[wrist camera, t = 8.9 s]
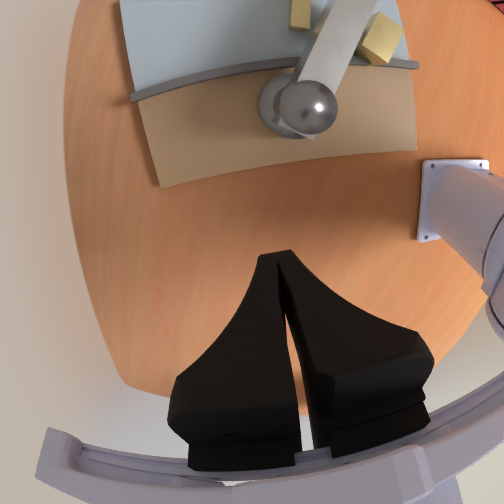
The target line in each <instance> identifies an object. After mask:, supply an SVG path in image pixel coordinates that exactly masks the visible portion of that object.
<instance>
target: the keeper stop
mask: <svg viewBox="0 0 504 504" xmlns="http://www.w3.org/2000/svg"><path fill="white" fill-rule="evenodd" d="M403 32H404V29H403V28H402V27H401V26H399V25H398V24H397V23H395V22H394V21H393V20H391V19H390V18H389V17H387V16H386V15H384V14H383V13H382V12H380V11H379V12H377V13H375V14H373V15H371V16H370V18H369V20H368V22H367V24H366V27H365V29H364V31H363V33H362V36H361V38H360V40H359V42H358V44H357V47H356V49H355V51H354V53H353V55H352V56H361V57H362V58H364V59H365V60H367V61H368V62H369V63H371V64H372V65H367V66H366V67H369V66H375V65H381V64H387V63H389V61H390V59H391V57H392V55H393V53H394V51H395V49H396V47H397V45H398V43H399V41H400V39H401V37H402V34H403Z"/></svg>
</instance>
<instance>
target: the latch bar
mask: <svg viewBox="0 0 504 504" xmlns="http://www.w3.org/2000/svg"><path fill="white" fill-rule="evenodd" d="M376 2H377V0H328V1H327V3H326V5H325V7H324V9H323V11H322V13H321V15H320V17H319V19H318V21H317V23H316V25H315V27H314V29H313V31H312V33H311V35H310V37H309V40H308V42H307V44H306V46H305V48H304V50H303V52H302V54H301V56H300V58H299V60H298V63H297V65H296V67H295V69H294V71H293V73H292V76H291V78H290V80H289V82H288V84H287V86H285V87H283V88H281V89H280V90H279V91H278V92H277V93H276V95H275V97H274V99H273V111H274V115H273V118H272V120H271V121H272V122H274V123H276V124H277V125H280V126H282V127H284V128H287V129H289V130H291V131H294V132H296V133H298V134H300V135H303V136H305V137H307V138H309V139H311V140H314V138H315V136H316V134H319V133H322V132H324V131H326V130H327V129H328V128H330V127H331V126H332V124H333V123H334V121H335V120H336V117H337V113H338V105H337V100H336V98H335V96H334V95H335V92H336V90H337V88H338V86H339V84H340V82H341V79H342V77H343V75H344V73H345V71H346V69H347V66H348V64H349V62H350V60H351V58H352V55H353V53H354V51H355V49H356V47H357V44H358V42H359V40H360V38H361V36H362V33H363V31H364V29H365V27H366V24H367V22H368V20H369V18H370V16H371V13H372V11H373V9H374V7H375V4H376Z"/></svg>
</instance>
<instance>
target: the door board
mask: <svg viewBox="0 0 504 504" xmlns="http://www.w3.org/2000/svg"><path fill="white" fill-rule="evenodd" d="M119 1H120V9H121V16H122V23H123V29H124V36H125V41H126V47H127V53H128V58H129V63H130V68H131V73H132V78H133V83H134V87H135V92H133V93H131V94H130V98H131V102H138V105H139V109H140V113H141V118H142V122H143V126H144V129H145V133H146V137H147V141H148V145H149V148H150V152H151V156H152V159H153V163H154V166H155V170H156V173H157V177H158V180H159V183H160V187H161V188H165V187H169V186H173V185H177V184H181V183H185V182H190V181H194V180H198V179H203V178H207V177H212V176H217V175H221V174H226V173H231V172H236V171H242V170H247V169H252V168H258V167H264V166H270V165H276V164H282V163H289V162H296V161H303V160H310V159H318V158H326V157H335V156H344V155H355V154H366V153H379V152H395V151H417V131H416V113H415V100H414V90H413V82H412V74H411V70H413V69H419V63H418V62H417V61H410V60H409V55H408V50H407V45H406V40H405V35H404V32H403V34H402V37H401V39H400V41H399V43H398V45H397V47H396V49H395V51H394V53H393V55H392V57H391V59H390V61H389V63H387V64H381V65H375V66H369V67H366V66H367V65H372V64H371V63H369V62H368V61H367V60H365V59H364V58H362V57H361V56H352V58H351V60H350V62H349V64H348V66H347V69H346V71H345V73H344V75H343V77H342V79H341V82H340V84H339V86H338V88H337V90H336V92H335V95H334V96H335V98H336V100H337V105H338V113H337V117H336V120H335V121H334V123H333V124H332V126H331V127H330V128H328V129H327V130H326V131H324V132H322V133H319V134H316V136H315V138H314V140H311V139H309V138H304V139H296V140H295V139H287V138H284V137H281V136H279V135H277V134H275V133H274V132H272V131H271V130H270V129H269V128H268V127H267V126H266V125H265V124H264V123H263V121H262V120H261V118H260V116H259V112H258V107H257V102H258V97H259V94H260V92H261V90H262V88H263V87H264V86H265V85H266V84H267V83H268V82H269V81H270V80H272V79H273V78H275V77H277V76H279V75H282V74H285V73H293V71H294V69H295V67H296V65H297V63H298V60H299V58H300V56H301V54H302V52H303V50H304V48H305V46H306V44H307V42H308V40H309V37H310V35H311V33H312V31H313V29H314V27H315V25H316V23H317V21H318V19H319V17H320V15H321V13H322V11H323V9H324V7H325V5H326V3H327V1H328V0H311V13H310V29H309V30H308V31H307V32H306V33H302V32H296V31H289V30H288V16H289V1H290V0H119ZM379 11H380V12H382V13H383V14H384V15H386V16H387V17H389V18H390V19H391V20H393V21H394V22H395V23H397V24H398V25H399V26H401V27H402V28H403V26H402V22H401V18H400V14H399V11H398V7H397V4H396V0H377V2H376V4H375V7H374V9H373V11H372V13H371V15H373V14H375V13H377V12H379Z"/></svg>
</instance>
